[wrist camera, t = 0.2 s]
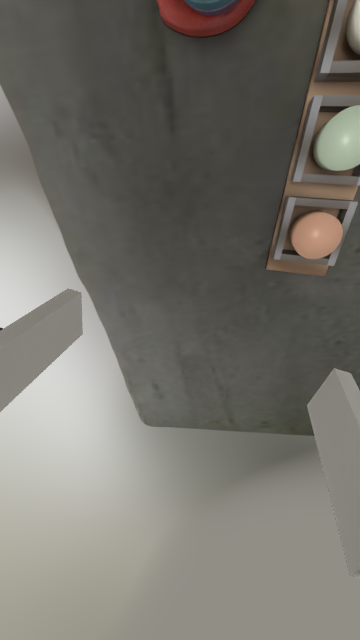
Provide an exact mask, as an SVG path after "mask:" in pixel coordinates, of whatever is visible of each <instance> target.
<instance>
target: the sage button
mask: <svg viewBox="0 0 360 640" xmlns="http://www.w3.org/2000/svg"><path fill="white" fill-rule="evenodd" d="M313 156H314V159H315V161H316V163H317V165H318V166H319V167H321V168H322V169H324V170H327V171H341V170H348V169H351V168H353V167H356V166H357V165H359V164H360V105H356V106H352V107H349V108H347V109H345V110H343V111H341V112H340V113H338V114H337V115H336V116H334V117H333V118H331V119H330V120H329V121H327V122H326V123H325V124H324V125H323V127H322V128H321V129H320V131H319V132H318V134H317V136H316V138H315V141H314V145H313Z"/></svg>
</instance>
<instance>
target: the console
mask: <svg viewBox="0 0 360 640" xmlns="http://www.w3.org/2000/svg"><path fill="white" fill-rule="evenodd" d="M354 1H355V0H329V2H328V7H327V11H326V15H325V19H324V24H323V28H322V32H321V36H320V40H319V45H318V49H317V53H316V57H315V62H314V66H313V70H312V74H311V78H310V83H309V87H308V91H307V95H306V100H305V104H304V108H303V112H302V116H301V121H300V125H299V129H298V133H297V137H296V142H295V146H294V150H293V154H292V159H291V163H290V167H289V171H288V175H287V180H286V184H285V188H284V192H283V197H282V201H281V205H280V209H279V213H278V218H277V222H276V226H275V230H274V235H273V239H272V243H271V247H270V251H269V256H268V260H267V264H266V269H268V270H276V271H284V272H292V273H301V274H309V275H317V276H325V274H326V272H327V269H328V266H334V264H335V262H336V259H337V256H338V254H339V251H340V249H341V246H342V243H343V241H344V238H345V236H346V233H347V230H348V228H349V225H350V223H351V220H352V217H353V215H354V212H355V210H356V207H357V204H358V202H356V201H353V199H354V196H355V194H356V191H357V188H358V186H359V185H360V164H359V165H357V166H356V167H353V168H351V169H348V170H341V171H327V170H324V169H322V168H321V167H319V166H318V165H317V163H316V161H315V159H314V156H313V145H314V141H315V138H316V136H317V134H318V132H319V131H320V129H321V128H322V127H323V125H324V124H325V123H326V122H327V121H329V120H330V119H331V118H333V117H334V116H336V115H337V114H338V113H340V112H341V111H343V110H345V109H347V108H349V107H352V106H356V105H360V55H359V54H357V53H355V52H354V51H353V50H352V49H351V48H350V46H349V44H348V41H347V37H346V24H347V19H348V15H349V12H350V9H351V7H352V5H353V3H354ZM315 210H319V211H324V212H326V213H328V214H330V215H332V216H334V217H336V218H337V219H338V220H339V221H340V223H341V225H342V229H343V235H342V239H341V241H340V243H339V245H338V246H337V248H336V249H335V250H334V251H333V252H332V253H330V254H329V255H327V256H325V257H322V258H319V259H307V258H304V257H302V256H301V255H299V254H298V253H297V251H296V250H295V248H294V247H293V245H292V243H291V241H290V230H291V227H292V225H293V224H294V222H295V221H296V220H297V219H298V218H299V217H300V216H301V215H303V214H305V213H307V212H309V211H315Z"/></svg>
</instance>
